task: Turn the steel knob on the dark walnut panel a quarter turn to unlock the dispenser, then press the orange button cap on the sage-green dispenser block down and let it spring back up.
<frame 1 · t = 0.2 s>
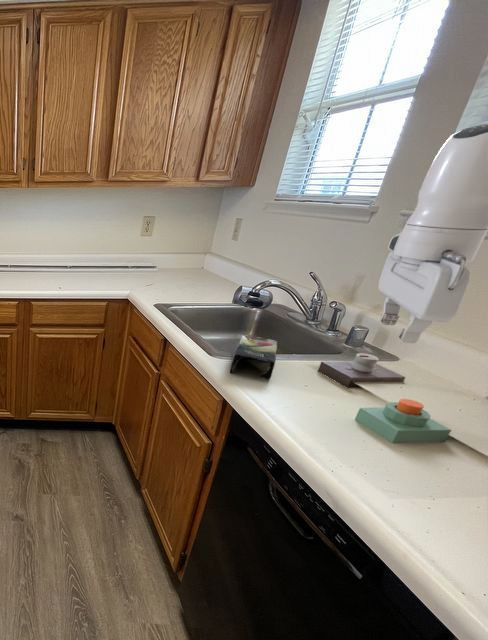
hand: (396, 332, 69), 25 cm above the countertop, tool pointing down, fingers open, 8 cm apart
dispenser: (397, 430, 87), on the countertop
dark boxy piece: (251, 366, 117), on the countertop
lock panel: (357, 379, 109), on the countertop
orange button cap: (409, 407, 85), point 6 cm above the countertop, slide at 0.1 cm
lock knob: (364, 362, 107), point 5 cm above the countertop, hinge at 0.0°
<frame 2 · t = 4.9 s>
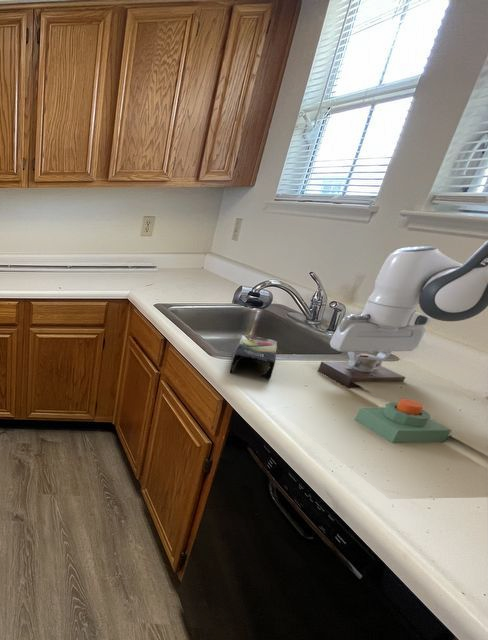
hand: (363, 365, 108), 4 cm above the countertop, tool pointing down, fingers closed on lock knob, 4 cm apart
lock knob: (364, 362, 107), point 5 cm above the countertop, hinge at -0.2°, touching gripper
everything else where it was.
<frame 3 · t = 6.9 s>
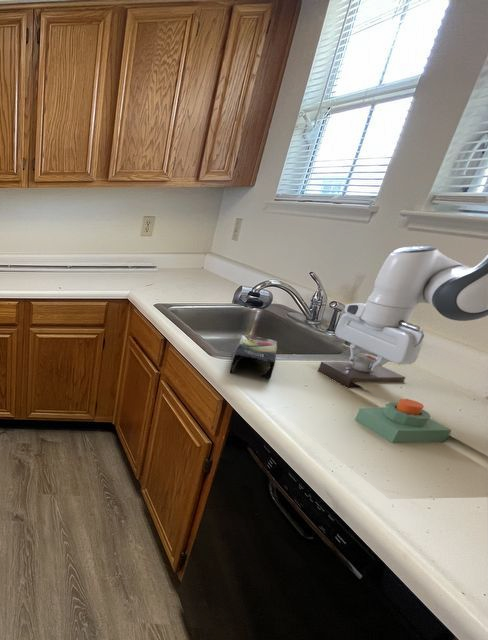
hand: (362, 365, 108), 4 cm above the countertop, tool pointing down, fingers closed on lock knob, 4 cm apart
lock knob: (364, 362, 107), point 5 cm above the countertop, hinge at 88.8°, touching gripper
everything else where it was.
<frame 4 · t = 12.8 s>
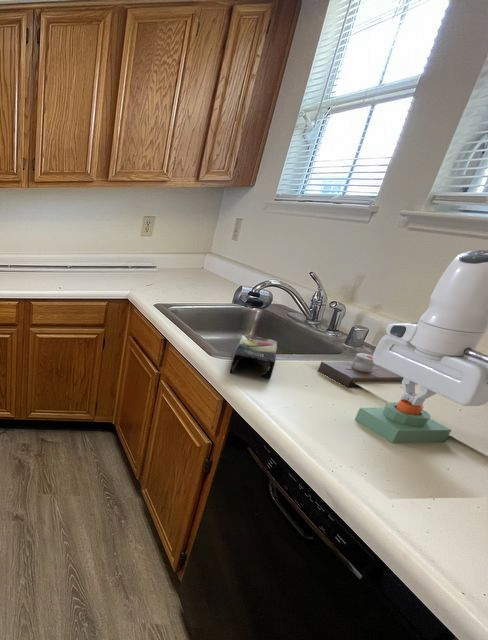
hand: (410, 402, 85), 7 cm above the countertop, tool pointing down, fingers closed, pressing on orange button cap
orange button cap: (409, 407, 85), point 6 cm above the countertop, slide at 0.0 cm, touching gripper
lock knob: (364, 362, 107), point 5 cm above the countertop, hinge at 87.7°
everything else where it was.
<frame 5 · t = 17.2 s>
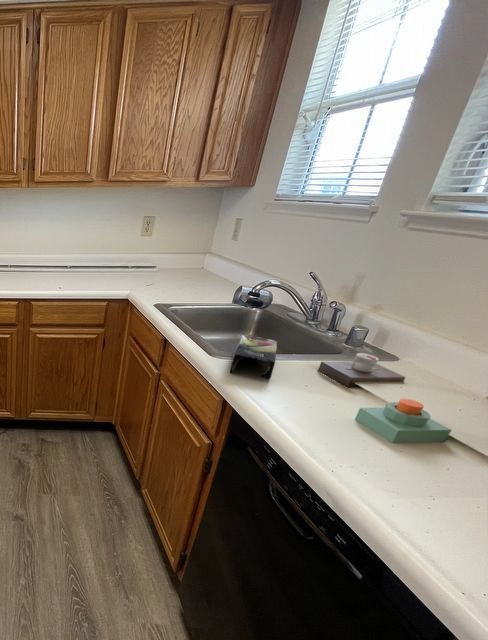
orange button cap: (409, 407, 85), point 6 cm above the countertop, slide at 0.1 cm
everything else where it was.
at the end: lock knob at +88° (first picture: +0°); orange button cap pushed in 1.3 cm at the most during the clip, back to where it started at the end; orange button cap slide at 0.1 cm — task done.
